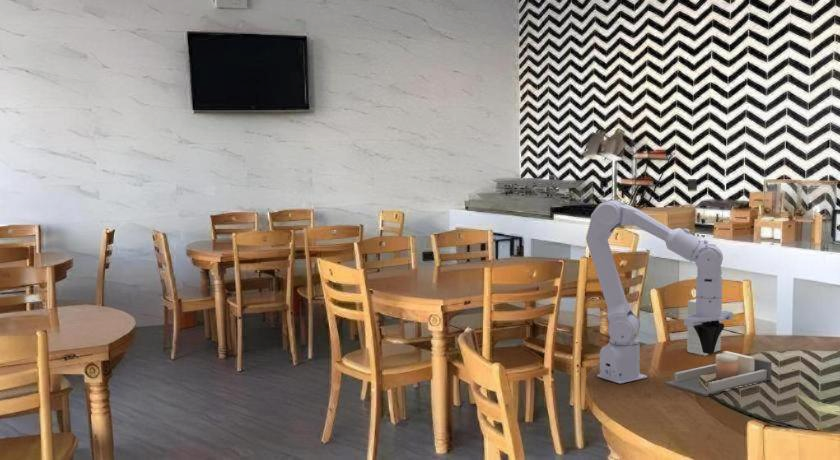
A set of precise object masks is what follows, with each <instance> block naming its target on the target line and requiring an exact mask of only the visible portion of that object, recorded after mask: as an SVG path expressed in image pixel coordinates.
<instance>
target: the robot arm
mask: <svg viewBox="0 0 840 460" xmlns="http://www.w3.org/2000/svg"><path fill="white" fill-rule="evenodd" d="M619 225H620V226H622V227H624V226H625V227H627V226H628V227H630V226H631V227H633V226H635V227H637V228H639V229H641V230H643V231H644V232H647V233H648V234H650V235H652V236H655V237H656V238H659V239H660V240H662V241H664V243H665V246H666V248H667V250H669V251H671V252H673V253H675V254H677V255H678V256H680V257H682V258H684V259H685V260H687V261H689V262H691V263H692V262H694V264H695V266H696V267H697V268H696V269H697V276H696V278H695V281H696V282H695V283H696V284H695V285H696V286H695V287H696V288H695V289H696V290H695V299H696V314H694V315H692V316H689V317H688V316H687V317H684V318H683V322H684V323H683V326H684V327H686V328H687V327H694V329H695V330H696V332H697V334H698V336H699V339H700V342H701V346H702V350H703V353H707V354H708V355H713V354H714V353H715V352H714V350H715V346H716V343H717V340H718V337H719V335H720V333H721V334H722V331H723V330H724V328H725V323H722V322H723V321H727V320H728V321H732V320H733V311H729V310H723V309H722V306H723V305H722V304H723V277H722V274H723V272H722V271H723V270H722V266H721V265H722V264H723V260H724V255H723V253H722V250H721V249H720V248H719V247H718V246H717V245H716V244H714V243H709V241H708V240H707V239H704V240H702V239H701V238H699V237H697V236H695V235H693V234H692V233H691V230H690V229H688V228H684V229H683V228H681V227H678V228H677V227H676V228H675V229H671V228H670V227H668V226H667V225H665V224H663V223H661V222H660V221H658V220H656V219H655V218H653V217H651V215H648V214H647V213H645V212H643V211H642V210H640V209H638V208H636V207H634V206H632V205H630V204H627V203H623V202H622V201H621V200H619V199H610V200H608V201H603V202H601V203H599V204H598V205H597V206H596V208H594V210H593V212H592V213H591V215H590V221H589V226H588V229H587V231H586V232H587V233H586V236H585V237H586V238H585V241H586V244H587V247H588V250H589V253H590V257H591V260H592V263H593V266H594V269H595V272H596V276H597V278H598V282H599V285H600V288H601V292H602V295H603V298H604V301H605V304H606V307H607V308H606V309H607V310H606V312H607V315H606V316H607V319H608V329H607V332H608V335H609V342H608V343H607V344H606V345H604V346H602V347H601V349H600V351H599V373H598V374H597V377H598V378H601V379H604V380H606V381H611V382H613V383H616V384H624V383H629V382H633V381H637V380H642V379H647V378H648V375H646V374H642V373H640V365H641V364H640V362H641V361H640V339H639V338H638V335H637V334H638V332H639V331H640V329H641V321H640V319H639V318H638V316H637V315H636V314H635V313H634V312H633V309H632V306H631V304H630V303H629V302H628V300H627V297H626V295H625V291H624V288H623V284H622V281H621V278H620V275H619V272H618V268H617V265H616V263H615V260H614V257H613V252H612V250H611V246H610V244H609V240H610V237H612V234H613V232H614V230H615V229H616V228H617V227H618V226H619ZM719 321H721V323H719Z"/></svg>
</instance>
